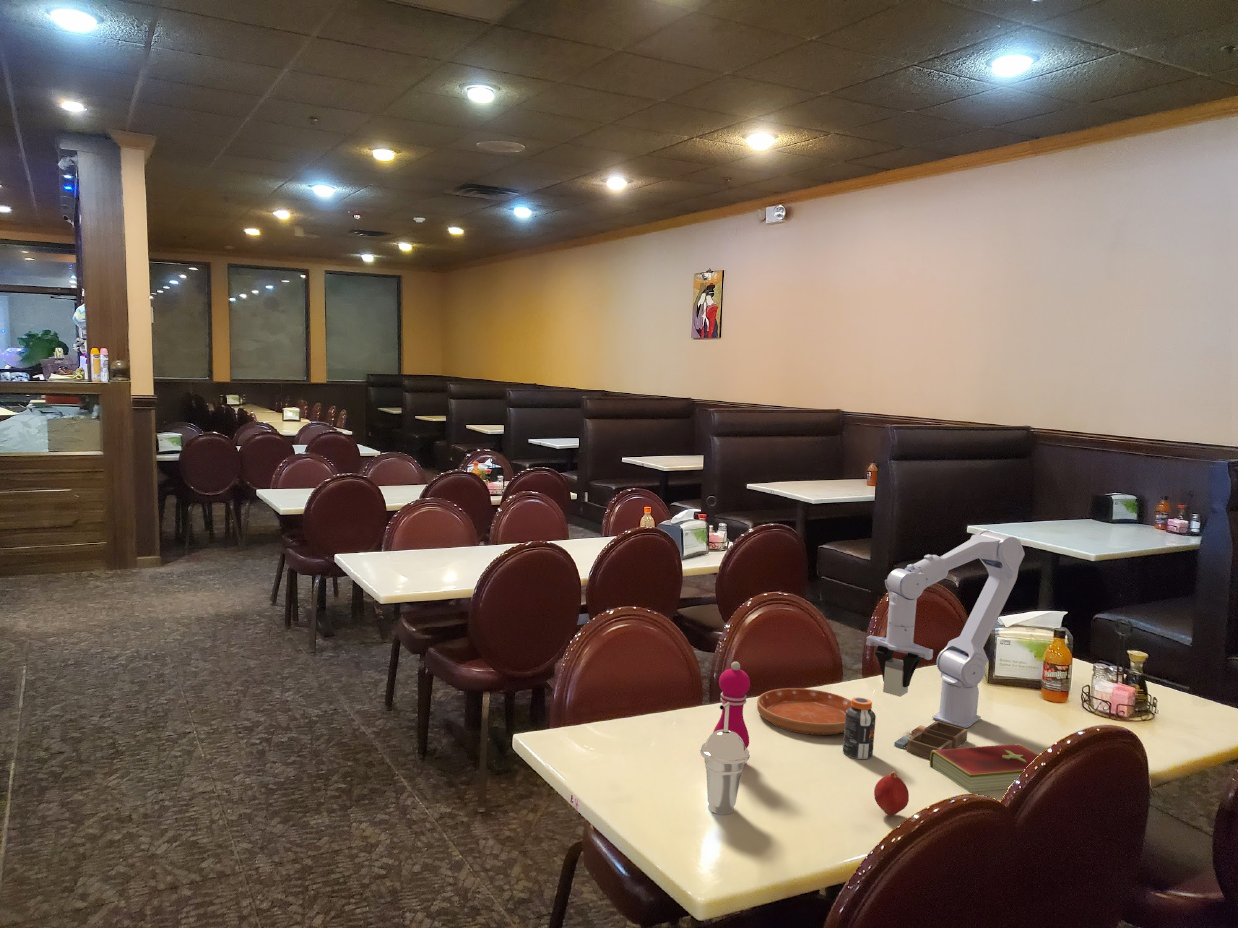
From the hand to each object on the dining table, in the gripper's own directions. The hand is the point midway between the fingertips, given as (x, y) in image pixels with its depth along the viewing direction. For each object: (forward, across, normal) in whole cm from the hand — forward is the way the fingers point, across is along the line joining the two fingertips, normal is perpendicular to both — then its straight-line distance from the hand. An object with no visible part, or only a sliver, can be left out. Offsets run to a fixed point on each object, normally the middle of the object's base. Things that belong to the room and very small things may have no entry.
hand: (896, 683), depth 200 cm
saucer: (+10, -15, -12) cm, 21 cm away
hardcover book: (+10, +26, -11) cm, 30 cm away
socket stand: (+9, +10, -5) cm, 15 cm away
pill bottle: (+10, +2, -22) cm, 24 cm away
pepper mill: (+10, -14, -45) cm, 48 cm away
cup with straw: (+9, -4, -63) cm, 64 cm away
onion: (+10, +18, -43) cm, 48 cm away
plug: (+2, 0, 0) cm, 2 cm away
